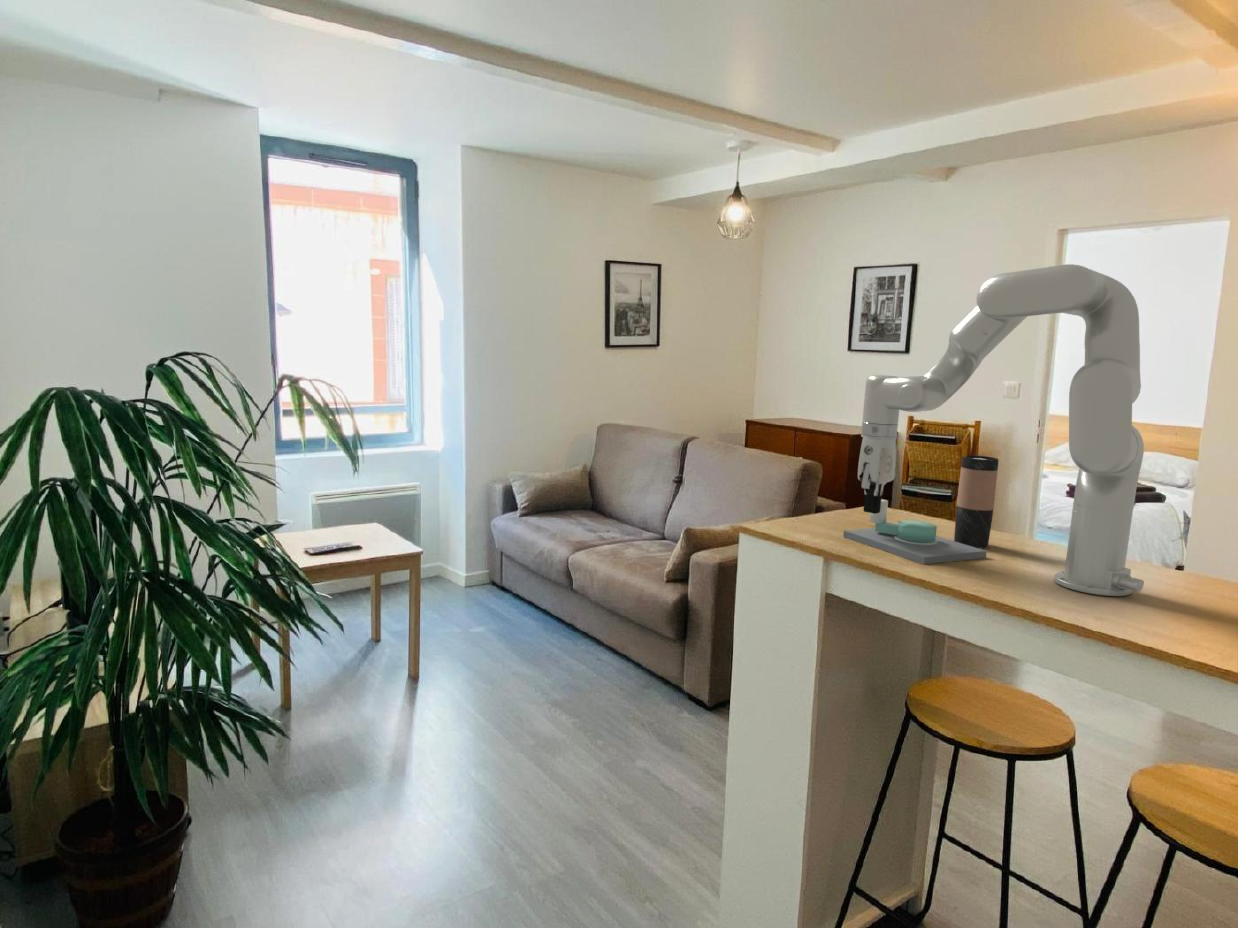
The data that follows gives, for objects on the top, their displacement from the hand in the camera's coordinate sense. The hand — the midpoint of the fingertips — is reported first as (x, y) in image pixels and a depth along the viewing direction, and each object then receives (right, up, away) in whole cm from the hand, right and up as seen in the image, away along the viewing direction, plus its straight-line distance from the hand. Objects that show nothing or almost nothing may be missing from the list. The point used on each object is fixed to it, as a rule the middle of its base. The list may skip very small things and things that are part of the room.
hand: (871, 512), depth 175 cm
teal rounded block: (+7, -5, 0) cm, 8 cm away
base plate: (+8, -8, -3) cm, 11 cm away
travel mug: (+23, -8, +2) cm, 25 cm away
